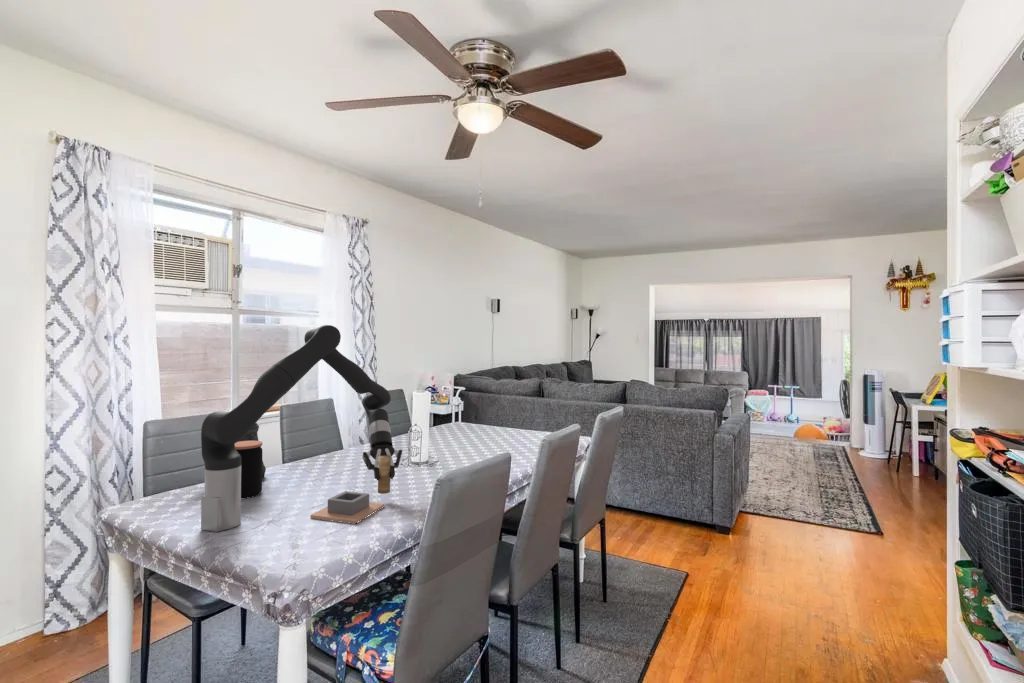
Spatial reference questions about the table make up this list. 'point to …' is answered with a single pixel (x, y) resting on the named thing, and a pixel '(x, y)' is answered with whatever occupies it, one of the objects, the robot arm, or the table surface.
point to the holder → (347, 507)
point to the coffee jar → (250, 467)
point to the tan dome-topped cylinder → (384, 474)
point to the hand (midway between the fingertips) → (385, 478)
